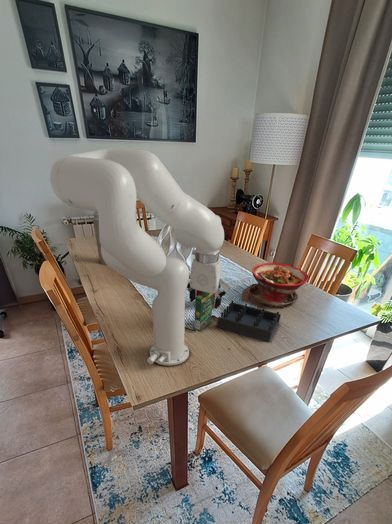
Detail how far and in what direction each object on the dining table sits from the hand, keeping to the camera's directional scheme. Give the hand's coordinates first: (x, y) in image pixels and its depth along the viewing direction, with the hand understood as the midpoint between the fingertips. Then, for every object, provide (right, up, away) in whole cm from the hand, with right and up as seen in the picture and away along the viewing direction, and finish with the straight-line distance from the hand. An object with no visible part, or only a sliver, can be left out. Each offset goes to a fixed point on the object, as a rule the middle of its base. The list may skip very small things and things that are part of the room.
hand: (204, 303), depth 103 cm
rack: (+17, -7, +6) cm, 19 cm away
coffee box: (-1, -8, +5) cm, 9 cm away
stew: (+31, +6, +26) cm, 40 cm away
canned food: (+1, +2, +18) cm, 18 cm away
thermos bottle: (-52, +32, +55) cm, 82 cm away
